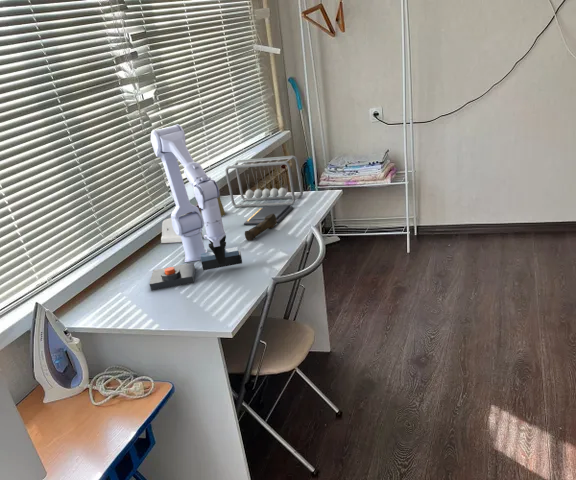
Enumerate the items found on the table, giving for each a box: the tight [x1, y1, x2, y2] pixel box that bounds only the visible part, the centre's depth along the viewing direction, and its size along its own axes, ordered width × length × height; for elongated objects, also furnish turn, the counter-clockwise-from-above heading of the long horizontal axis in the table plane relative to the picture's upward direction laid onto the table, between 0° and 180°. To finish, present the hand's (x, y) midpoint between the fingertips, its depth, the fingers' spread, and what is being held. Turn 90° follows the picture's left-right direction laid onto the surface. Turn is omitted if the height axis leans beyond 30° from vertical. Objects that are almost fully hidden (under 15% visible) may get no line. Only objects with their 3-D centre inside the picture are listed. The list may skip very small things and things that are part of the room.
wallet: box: [243, 205, 294, 226], centre depth 246 cm, size 20×2×15 cm
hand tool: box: [244, 214, 278, 242], centre depth 229 cm, size 19×4×5 cm, turn 146°
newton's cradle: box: [224, 155, 304, 209], centre depth 260 cm, size 30×10×18 cm, turn 69°
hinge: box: [160, 217, 204, 244], centre depth 237 cm, size 17×5×10 cm, turn 73°
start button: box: [165, 266, 175, 275], centre depth 196 cm, size 3×3×2 cm
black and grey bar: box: [200, 246, 243, 272], centre depth 199 cm, size 4×13×4 cm, turn 96°
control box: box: [149, 262, 196, 292], centre depth 201 cm, size 13×14×4 cm
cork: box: [217, 190, 226, 217], centre depth 257 cm, size 6×6×11 cm
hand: (221, 260), depth 199 cm, fingers closed on black and grey bar, 4 cm apart
